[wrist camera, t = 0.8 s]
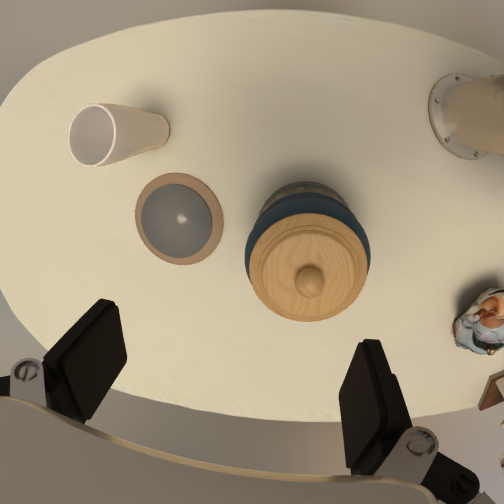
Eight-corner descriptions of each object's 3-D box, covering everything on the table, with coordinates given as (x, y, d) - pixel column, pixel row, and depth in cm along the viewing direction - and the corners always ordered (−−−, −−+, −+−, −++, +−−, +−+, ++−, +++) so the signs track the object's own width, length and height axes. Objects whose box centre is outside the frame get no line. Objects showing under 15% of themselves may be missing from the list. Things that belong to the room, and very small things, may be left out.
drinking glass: (126, 129, 39) (58, 134, 25) (158, 99, 36) (95, 89, 23) (150, 163, 40) (87, 181, 26) (184, 134, 38) (128, 137, 24)
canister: (274, 167, 38) (257, 192, 22) (365, 199, 38) (409, 245, 22) (247, 254, 43) (218, 326, 27) (331, 280, 43) (346, 362, 27)
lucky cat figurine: (440, 344, 45) (460, 365, 32) (455, 280, 45) (481, 282, 32) (502, 353, 39) (532, 373, 26) (516, 292, 39) (551, 297, 26)
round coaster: (169, 153, 39) (166, 154, 38) (243, 218, 41) (242, 220, 40) (122, 223, 44) (118, 225, 43) (186, 280, 47) (184, 284, 46)
